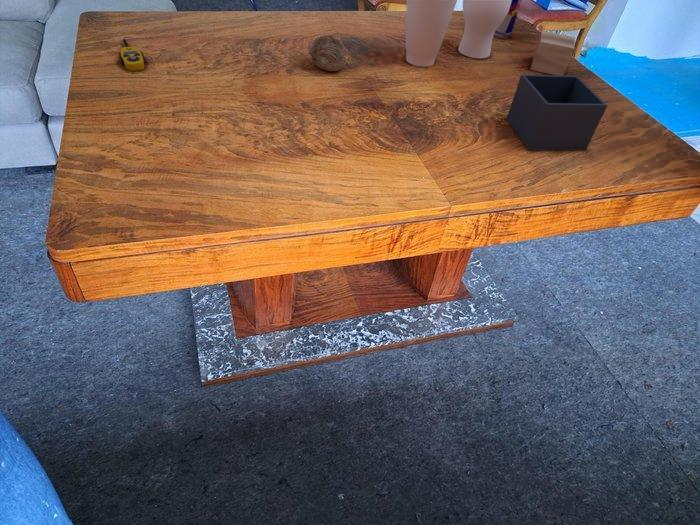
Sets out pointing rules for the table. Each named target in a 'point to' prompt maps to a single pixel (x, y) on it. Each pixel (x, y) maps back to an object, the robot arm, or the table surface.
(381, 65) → the table surface
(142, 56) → the yellow walkie talkie
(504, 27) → the beverage can
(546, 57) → the block
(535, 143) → the box
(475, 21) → the cup
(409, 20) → the cup
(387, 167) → the table surface
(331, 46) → the seashell
